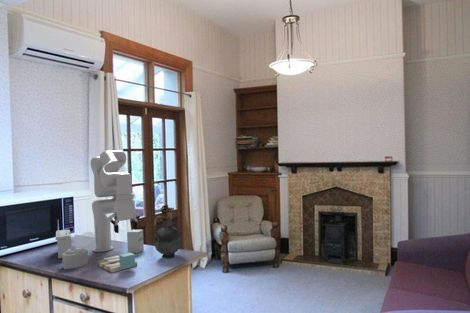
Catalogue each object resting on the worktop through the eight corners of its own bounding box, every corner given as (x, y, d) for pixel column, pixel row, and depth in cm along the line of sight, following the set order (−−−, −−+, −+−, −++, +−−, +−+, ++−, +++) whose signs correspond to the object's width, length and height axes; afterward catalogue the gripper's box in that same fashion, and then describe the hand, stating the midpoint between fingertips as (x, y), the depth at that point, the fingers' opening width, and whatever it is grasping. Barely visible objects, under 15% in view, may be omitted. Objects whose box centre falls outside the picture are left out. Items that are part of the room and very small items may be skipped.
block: (119, 266, 187) (119, 255, 186) (130, 263, 191) (130, 252, 190) (124, 268, 183) (123, 256, 183) (135, 265, 187) (134, 254, 187)
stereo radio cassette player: (72, 257, 214) (70, 223, 214) (56, 259, 211) (54, 225, 211) (71, 249, 233) (69, 218, 233) (56, 251, 230) (55, 219, 229)
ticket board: (97, 264, 198) (97, 259, 198) (122, 259, 207) (122, 253, 207) (111, 272, 185) (111, 266, 185) (137, 265, 194) (136, 260, 194)
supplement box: (138, 253, 219) (137, 232, 219) (127, 252, 220) (126, 231, 220) (144, 249, 226) (143, 229, 226) (133, 249, 227) (132, 229, 227)
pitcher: (184, 253, 214) (182, 202, 213) (163, 263, 197) (161, 207, 196) (169, 251, 219) (167, 201, 218) (148, 261, 202) (145, 206, 201)
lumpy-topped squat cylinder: (91, 262, 203) (90, 247, 203) (71, 270, 191) (70, 253, 191) (77, 260, 208) (77, 245, 207) (57, 267, 196) (56, 251, 196)
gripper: (136, 195, 195) (138, 227, 195) (104, 198, 183) (106, 232, 184) (143, 196, 189) (144, 229, 190) (111, 200, 178) (112, 235, 178)
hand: (125, 230), depth 187 cm, fingers open, 9 cm apart
